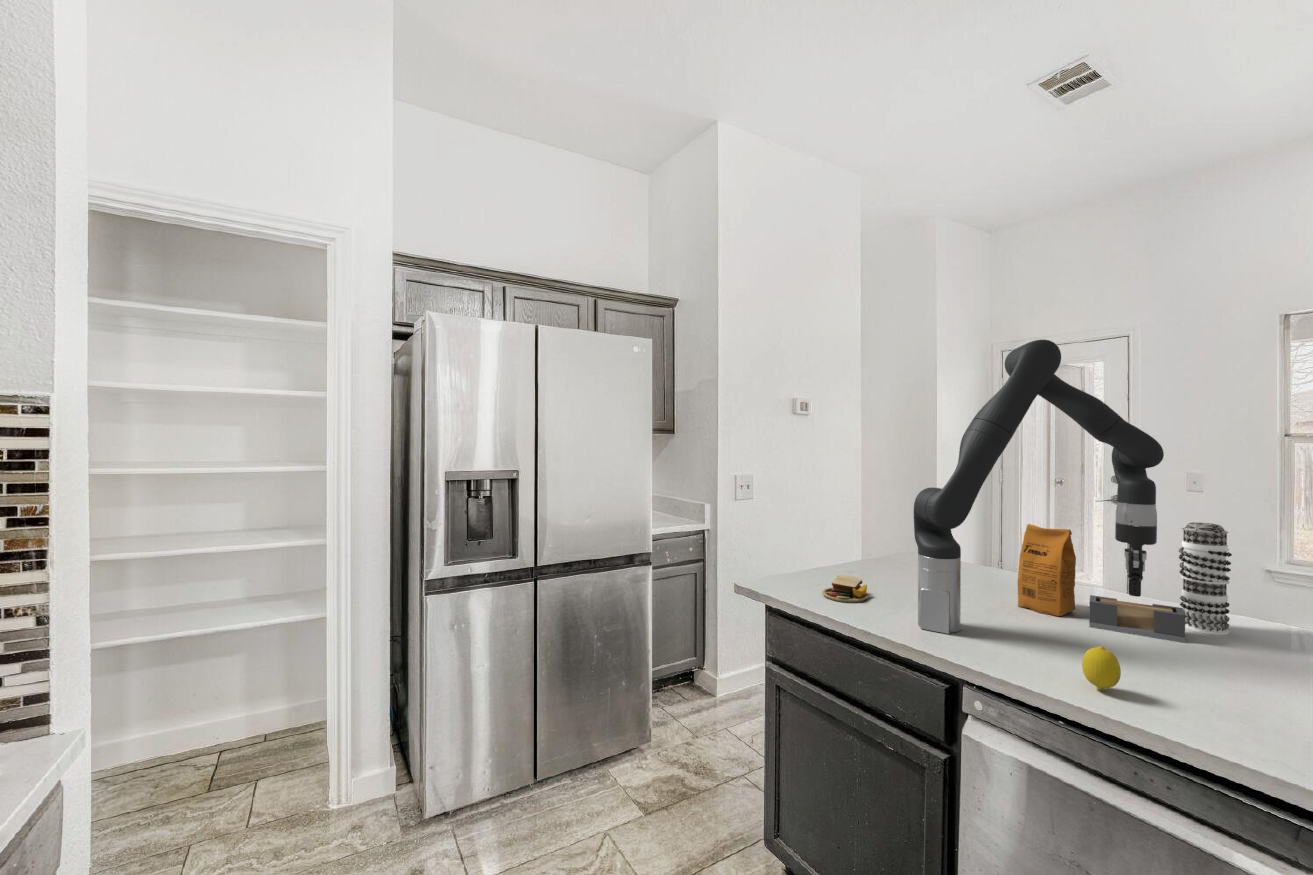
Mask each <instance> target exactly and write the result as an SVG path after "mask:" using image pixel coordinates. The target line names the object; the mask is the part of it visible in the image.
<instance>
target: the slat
mask: <svg viewBox="0 0 1313 875" xmlns="http://www.w3.org/2000/svg"><path fill="white" fill-rule="evenodd" d="M1100 602H1105V603H1112V604H1117V624H1118V625H1124V626H1130V627H1136V628H1143V629H1149V630H1154V610H1161V611H1168V612H1173V611H1172V608H1167V607H1159V606H1152V604H1151V605H1150V604H1145V603H1137V602H1129V601H1123V600H1110V599H1102V598H1101V599H1100Z"/></svg>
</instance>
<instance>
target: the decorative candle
mask: <svg viewBox="0 0 1313 875" xmlns="http://www.w3.org/2000/svg"><path fill="white" fill-rule="evenodd" d="M1181 530H1182V532H1183V533H1182V539H1183V540H1181V547H1180V548H1178V552H1179V555H1178V559H1179V560H1180V561H1182V562H1180V563H1179V567H1180V568H1181V569H1179V572H1178V573H1179V574H1180V576H1179V577H1180V578H1181V579H1182V588H1181V596H1180V597H1179V600H1181V601H1182V602H1180V603H1179V606H1180V607H1181V608H1182V609H1183V611H1184V614H1185V630H1188V631H1191V632H1196V633H1199V634H1206V635H1214V636H1227V635H1228V634H1230V631H1229V630H1228V629H1229V628H1230V624H1229V622H1230V617H1229V616H1228V615H1227V614H1229V613H1230V610H1229V609H1228V607H1230V603H1229V602H1228V601H1229V600H1228V599H1229V597H1228V594H1227V585H1229V584H1230V580H1231V578H1230V577H1229V576H1228V575H1227V573H1229V572H1231V571H1232V569H1231V568H1230V567H1228V566H1231V564H1232V562H1231V561H1229V560H1228V559H1227V558H1230V557H1231V556H1232V555H1233V554H1232V553H1230V552H1229V551H1230V549H1229V545H1228V543H1227V542H1228V534H1229V533H1230V532H1229V531H1227V530H1225V528H1224V527H1223V526H1222V525H1221V524H1218V523H1210V522H1188V523H1187V524H1186V525H1185V527H1182V528H1181Z"/></svg>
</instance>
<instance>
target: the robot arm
mask: <svg viewBox="0 0 1313 875" xmlns="http://www.w3.org/2000/svg"><path fill="white" fill-rule="evenodd" d="M1061 362H1062V353H1061V349H1060V348H1059V346H1058V345H1057V343H1055V342H1054V341H1052V340H1049V339H1036V340H1031V341H1029V342H1026V343H1025V344H1023V345H1020V346H1018V347H1017V348H1014V349H1013V350H1011V351H1010V352H1009V353H1008V354H1007V355H1006V358H1005V359H1004V368H1005V371H1006V373H1007V375H1008V376H1009V377H1008V379H1007V380H1006V382H1005V383H1004V385H1003V386H1002V387H1001V388H1000V389H999V390H998V391H997V392H996V393H995V394H994V395H993V396H992V397H990V399H989V400H988V401H987V402H986V403H985V404H984V405H983V406H982V407H981V408H980V409H979V411H977V413H976V414H975V416H974V417H973V419H972V420H971V422H970V423H969V425H968V426H967V428H966V429H965V431H964V433H963V435H962V436H961V440H960V445H959V451H958V453H959V454H958V460H957V463H956V464H957V465H956V467H955V469H954V471H953V473H952V475H951V476H950V478H949V479H948V481H947V482H946V484H945V485H944V486H943V488H939V487H927V488H924V489H922V490H921V491H919V493H918V494H917V495H916V497H915V500H914V502H913V530H914V531H913V532H914V541H915V543H916V545H917V624H918V626H919V627H920V629H922V630H926V631H927V630H928V631H933V632H937V633H942V634H951V633H956V632H959V631H961V617H962V616H961V613H962V612H961V606H962V605H961V602H962V601H961V599H962V598H961V597H962V596H961V585H962V584H961V583H962V582H961V577H962V576H961V571H962V561H961V559H962V557H961V556H962V548H961V545H960V544H959V543H958V542H957V540H956V539H955V538H954V536H953V533H952V530H953V529H956V528H958V527H960V526H961V525H962V524H963V523H964V522H965V521H966V519H967V517H968V516H969V514H970V512H971V510H972V508H973V506H974V503H975V502H976V499H977V497H978V495H979V493H980V490H981V488H982V486H983V485H984V483H985V481H986V479H987V478H988V476H989V475H990V473H991V472H992V470H993V469H994V466H995V465H996V463H997V461H998V460H999V458H1000V457H1001V455H1002V454H1003V452H1004V450H1005V449H1006V448H1007V446H1008V444H1009V443H1010V442H1011V439H1012V438H1013V436H1014V434H1015V433H1016V431H1017V429H1018V427H1019V426H1020V424H1021V422H1022V421H1023V419H1024V418H1025V416H1026V414H1027V413H1028V410H1029V409H1030V407H1031V406H1032V404H1033V402H1034V401H1035V399H1036V398H1037V396H1039V397H1041V398H1042V399H1044V400H1045V401H1047V402H1049V403H1050V404H1052V405H1053V406H1054V407H1056V408H1057V409H1059V410H1060V411H1062V413H1064V414H1065V415H1067V416H1068V417H1069V418H1070V419H1072V421H1074V422H1075V423H1076V424H1077V425H1079V426H1080V427H1081V428H1082V429H1083V430H1084V431H1086V432H1087V433H1088V434H1089V435H1090V436H1092V437H1093V438H1094V439H1095V440H1097V441H1098V442H1100V443H1104V444H1107V445H1109V446H1111V447H1113V448H1112V450H1111V451H1112V452H1111V463H1112V464H1111V465H1112V468H1113V472H1114V476H1115V479H1116V483H1117V491H1116V492H1117V496H1116V501H1117V502H1116V508H1115V526H1114V527H1115V528H1114V529H1115V534H1114V535H1115V536H1114V539H1115V540H1116V541H1117V542H1120V543H1125V544H1128V548H1124V557H1125V569H1126V570H1127V571H1126V572H1127V579H1128V595H1129V596H1130V597H1131V596H1132V597H1141V596H1142V581H1143V579H1144V576H1143V573H1144V572H1145V571H1146V560H1147V559H1148V557H1147V556H1148V555H1147V550H1143V546H1145V545H1147V546H1154V545H1155V544H1157V543H1158V542H1157V541H1158V540H1157V539H1158V534H1157V533H1158V511H1157V486H1156V483H1155V481H1153V479H1150V478H1149V476H1148V474H1147V469H1149V468H1150V469H1151V468H1155V467H1156V466H1158V465H1160V463H1161V462H1162V461H1163V459H1164V455H1165V454H1164V453H1165V452H1164V449H1163V447H1162V445H1161V444H1160V442H1158V441H1157V439H1156V438H1154V437H1153V436H1151V435H1150V434H1149V433H1147V432H1145V431H1143V430H1141V429H1140V428H1138V427H1137V426H1135V425H1133V424H1131V423H1129V422H1128V421H1126V420H1125V419H1123V418H1122V416H1121V415H1120V414H1118V413H1117V412H1116V411H1115V410H1114V409H1113V408H1111V407H1110V406H1109V405H1108V404H1106V403H1105V402H1104V401H1102V400H1100V399H1099V398H1097V397H1096V396H1093V395H1091V394H1089V393H1088V392H1085V391H1084V390H1081V389H1079V388H1077V387H1075V386H1073V385H1071V384H1069V383H1067V382H1065V381H1064V380H1063V379H1061V378H1060V377H1059V376H1058V375H1056V374H1055V373H1056V372H1057V371H1058V369H1059V367H1060V365H1061Z"/></svg>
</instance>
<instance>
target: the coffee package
mask: <svg viewBox="0 0 1313 875" xmlns="http://www.w3.org/2000/svg"><path fill="white" fill-rule="evenodd" d="M1072 534H1073V533H1072V530H1071V529H1066V528H1044V527H1040V526H1037V525H1034V524H1030V523H1027V525H1026V528H1025V532H1024V534H1023V540H1022V544H1021V550H1020V553H1019V559H1018V560H1019V562H1018V573H1017V607H1018V608H1025V609H1029V610H1032V611H1035V612H1037V613H1039V614H1045V615H1050V616H1056V617H1062V616H1064V615H1066V614H1069V613H1072V612H1074V611H1076V597H1075V586H1076V564H1077V557H1076V553H1075V550H1074V545H1073V541H1072Z"/></svg>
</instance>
